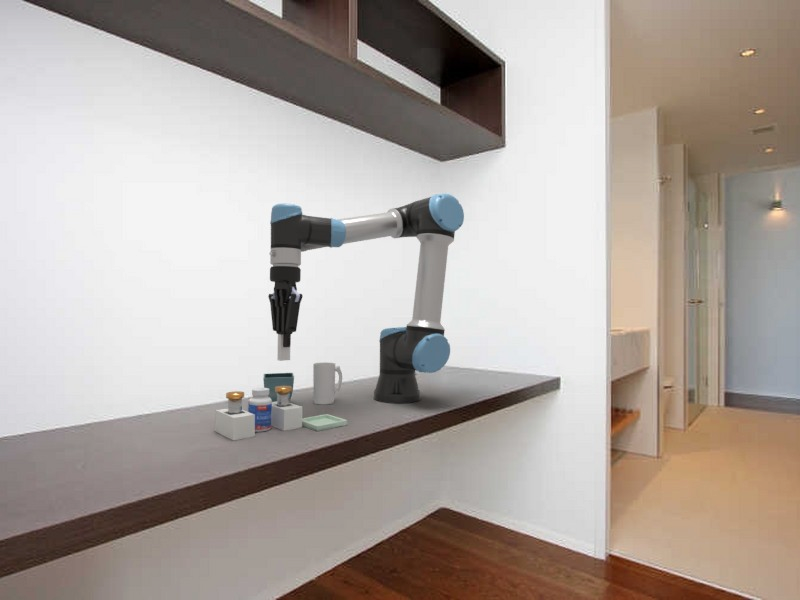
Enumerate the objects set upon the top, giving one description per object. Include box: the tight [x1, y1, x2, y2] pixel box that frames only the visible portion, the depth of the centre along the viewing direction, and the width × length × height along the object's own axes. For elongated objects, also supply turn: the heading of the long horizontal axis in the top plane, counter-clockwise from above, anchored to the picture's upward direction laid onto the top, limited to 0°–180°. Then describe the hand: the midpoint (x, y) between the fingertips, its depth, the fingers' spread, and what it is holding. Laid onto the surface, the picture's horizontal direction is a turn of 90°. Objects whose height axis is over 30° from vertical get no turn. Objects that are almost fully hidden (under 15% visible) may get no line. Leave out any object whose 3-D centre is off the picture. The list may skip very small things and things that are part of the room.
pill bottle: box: [247, 387, 272, 433], centre depth 113 cm, size 6×5×10 cm
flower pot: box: [263, 372, 295, 402], centre depth 141 cm, size 9×9×9 cm
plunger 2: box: [275, 386, 292, 407], centre depth 117 cm, size 4×4×7 cm
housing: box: [214, 401, 304, 441], centre depth 113 cm, size 18×10×5 cm, turn 133°
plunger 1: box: [225, 390, 245, 415], centre depth 109 cm, size 4×4×7 cm
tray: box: [302, 413, 348, 432], centre depth 118 cm, size 9×9×1 cm
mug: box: [312, 362, 343, 405], centre depth 146 cm, size 10×7×12 cm, turn 132°
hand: (283, 360), depth 118 cm, fingers closed
